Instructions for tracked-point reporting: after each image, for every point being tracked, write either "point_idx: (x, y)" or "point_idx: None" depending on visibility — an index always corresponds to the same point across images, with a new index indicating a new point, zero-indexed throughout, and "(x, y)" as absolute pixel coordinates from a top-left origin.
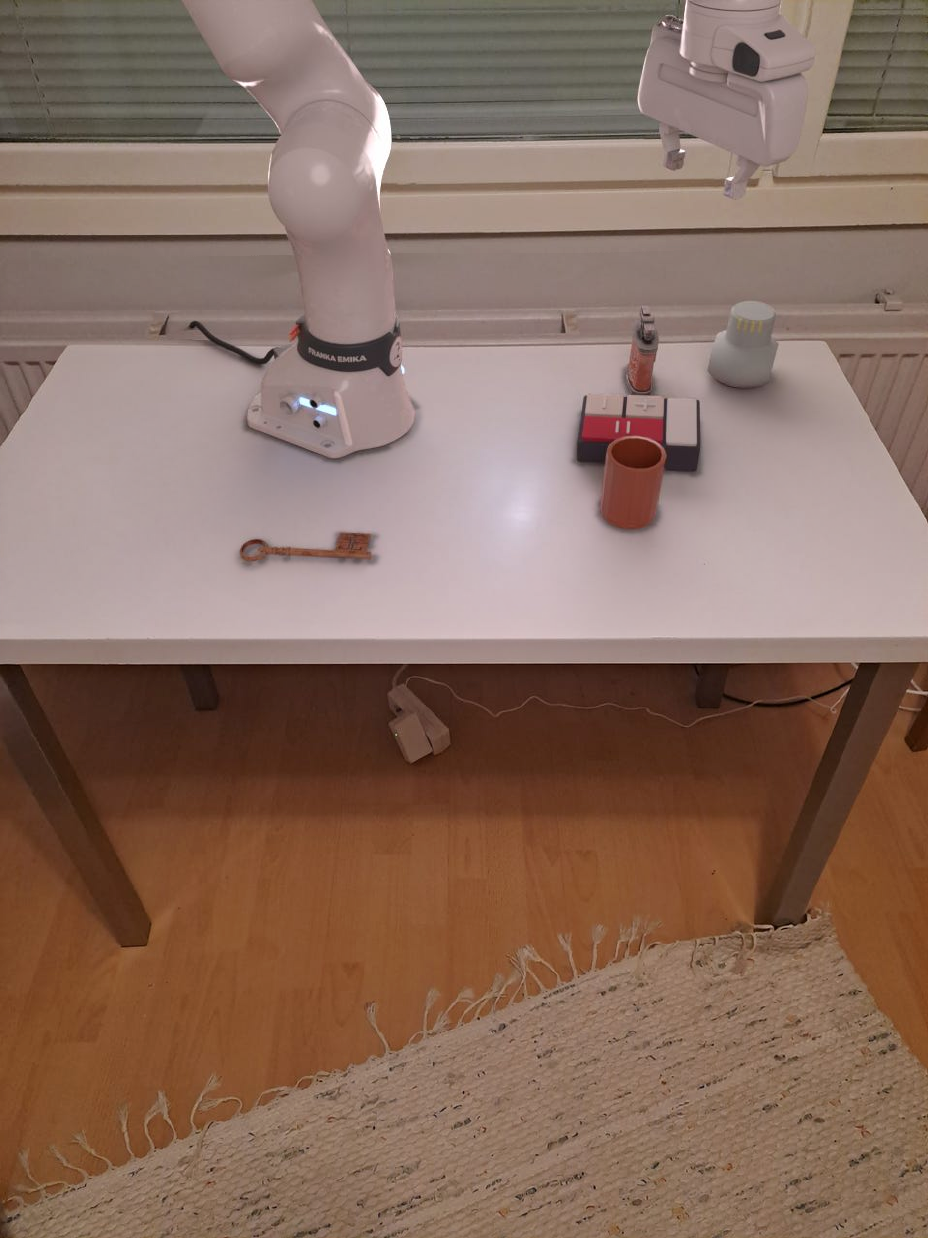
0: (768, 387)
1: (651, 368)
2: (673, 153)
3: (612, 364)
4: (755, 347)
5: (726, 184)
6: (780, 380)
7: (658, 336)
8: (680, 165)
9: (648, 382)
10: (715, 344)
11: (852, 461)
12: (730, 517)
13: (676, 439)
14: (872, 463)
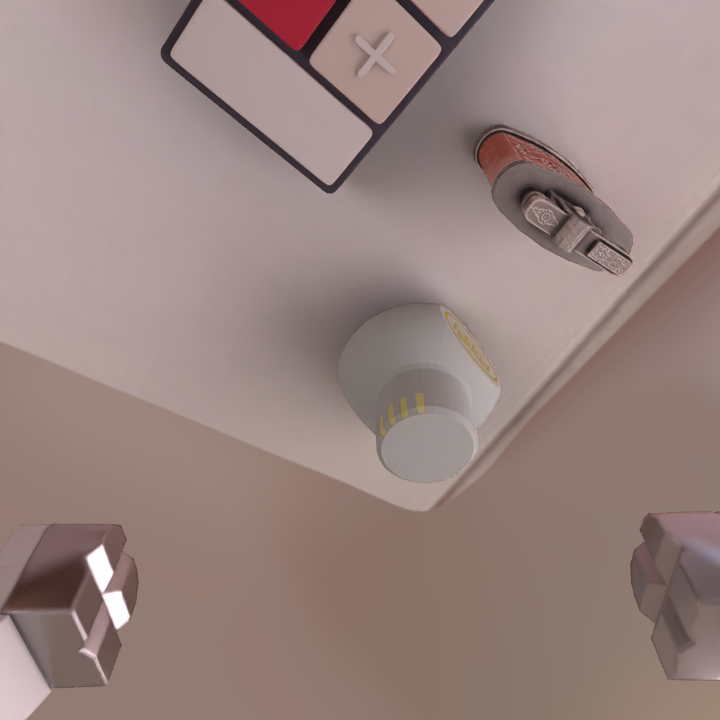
0: None
1: (487, 175)
2: (715, 612)
3: (629, 168)
4: (379, 393)
5: (66, 579)
6: None
7: (531, 238)
8: (637, 575)
9: (481, 161)
10: (457, 349)
11: (97, 337)
12: (4, 3)
13: (208, 22)
14: (81, 359)
